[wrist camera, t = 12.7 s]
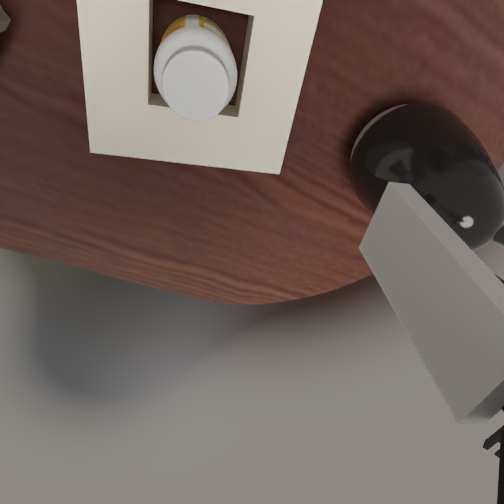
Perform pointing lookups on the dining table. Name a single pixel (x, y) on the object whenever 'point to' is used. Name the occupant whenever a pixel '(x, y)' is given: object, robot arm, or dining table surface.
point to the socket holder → (158, 111)
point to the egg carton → (3, 20)
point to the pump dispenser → (431, 168)
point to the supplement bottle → (195, 68)
